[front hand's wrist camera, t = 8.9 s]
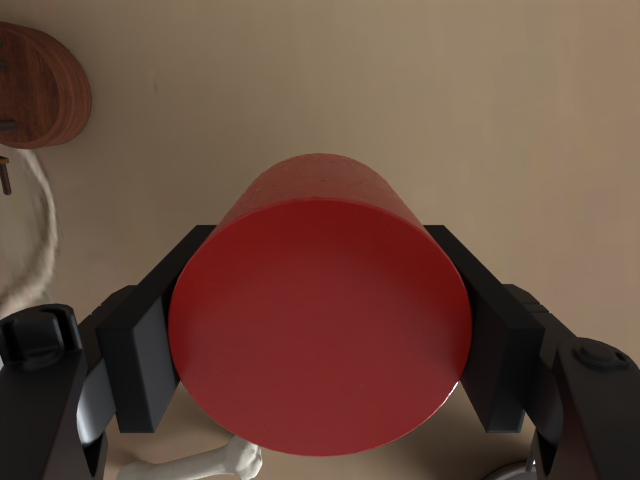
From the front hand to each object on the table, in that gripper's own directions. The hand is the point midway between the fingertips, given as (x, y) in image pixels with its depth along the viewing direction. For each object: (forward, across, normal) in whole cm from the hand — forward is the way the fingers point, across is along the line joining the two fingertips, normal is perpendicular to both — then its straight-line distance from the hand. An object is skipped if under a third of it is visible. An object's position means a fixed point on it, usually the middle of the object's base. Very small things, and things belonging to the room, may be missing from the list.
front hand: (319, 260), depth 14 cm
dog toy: (+26, -17, -41) cm, 51 cm away
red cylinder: (+2, 0, 0) cm, 2 cm away
